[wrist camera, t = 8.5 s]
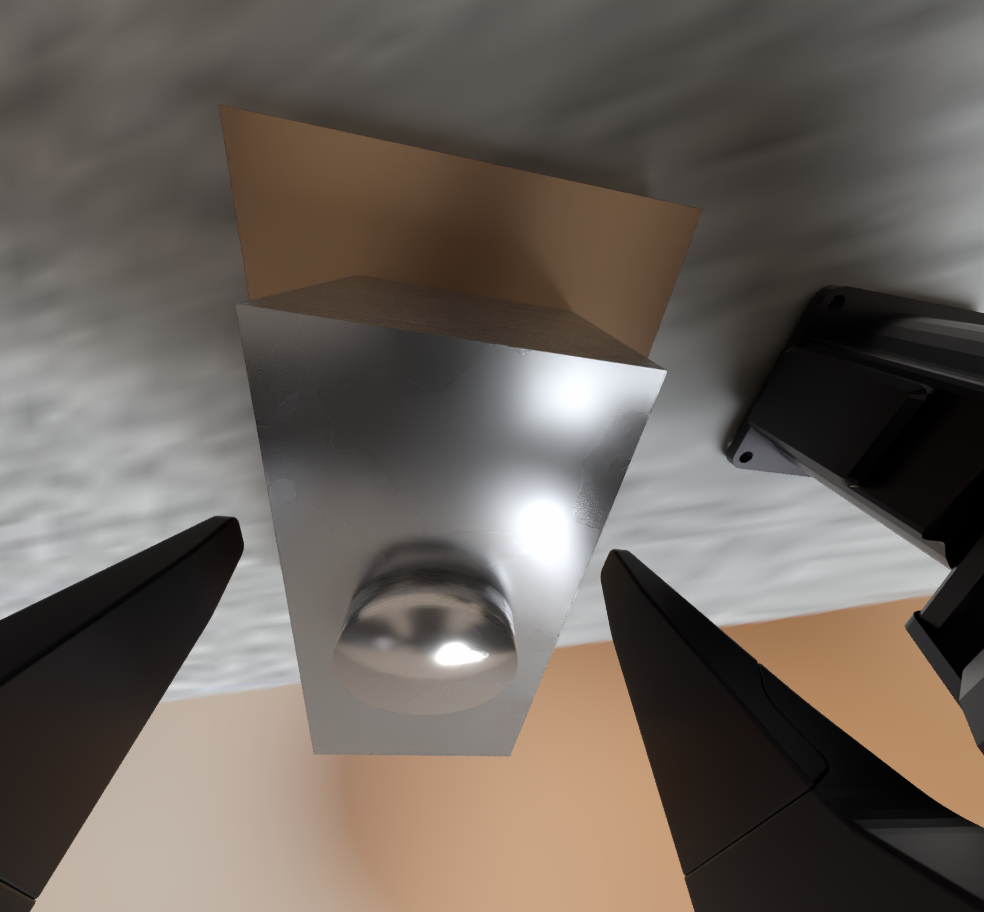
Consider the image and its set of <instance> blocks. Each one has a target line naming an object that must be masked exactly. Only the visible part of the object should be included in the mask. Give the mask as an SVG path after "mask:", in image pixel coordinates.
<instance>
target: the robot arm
mask: <svg viewBox="0 0 984 912" xmlns="http://www.w3.org/2000/svg"><path fill="white" fill-rule="evenodd" d="M833 297H834V300H833V303H832V304H831V306H830V307H829V308H827V306H828V303H829V302H830V300H831V299H832V298H833ZM743 453H745V454H744V455H743V456H741V455H742V454H743ZM726 456H727V460H728V461H729V462H730V463H731V464H733V465H734V466H735V467H737V468H741V469H749V470H757V471H766V472H774V473H782V474H791V475H799V476H807V477H813V478H815V479H816V480H818V481H819V482H820V483H822V484H823V485H825V486H826V487H828V488H829V489H831V490H832V491H834V492H835V493H837V494H838V495H840V496H841V497H843V498H844V499H846V500H847V501H849V502H850V503H852V504H853V505H855V506H856V507H858V508H859V509H861V510H862V511H864V512H865V513H867V514H868V515H870V516H871V517H873V518H874V519H876V520H877V521H879V522H880V523H881V524H883V525H884V526H886V527H887V528H889V529H890V530H892V531H893V532H895V533H896V534H898V535H899V536H901V537H902V538H904V539H905V540H907V541H908V542H910V543H911V544H913V545H914V546H916V547H917V548H919V549H920V550H922V551H923V552H925V553H926V554H928V555H929V556H931V557H932V558H934V559H935V560H937V561H938V562H940V563H941V564H943V565H944V566H945V567H947V568H948V569H950V570H951V572H950V573H949V575H948V576H947V577H946V579H945V580H944V581H943V583H942V584H941V585H940V587H939V588H938V589H937V591H936V592H935V593H934V595H933V596H932V597H931V599H930V600H929V601H928V603H927V604H926V605H925V607H924V608H923V609H922V610H921V611H916V612H914V613H913V615H912V616H911V617H910V619H909V620H908V621H907V623H906V624H905V628H906V630H907V631H908V633H909V634H910V636H911V637H912V638H913V640H914V641H915V643H916V644H917V646H918V647H919V649H920V650H921V651H922V653H923V654H924V656H925V657H926V658H927V660H928V661H929V663H930V664H931V666H932V667H933V669H934V670H935V671H936V673H937V674H938V676H939V677H940V679H941V680H942V681H943V683H944V684H945V686H946V687H947V689H948V690H949V691H950V693H951V694H952V696H953V697H954V699H955V700H956V702H957V703H958V704H959V705H960V707H961V709H962V710H963V712H964V714H965V717H966V719H967V722H968V724H969V727H970V729H971V732H972V734H973V737H974V739H975V742H976V744H977V747H978V748H979V749H980V751H981V752H982V753H983V755H984V313H980V312H975V311H970V310H965V309H960V308H955V307H950V306H945V305H939V304H934V303H929V302H924V301H919V300H914V299H909V298H904V297H899V296H894V295H889V294H884V293H879V292H874V291H869V290H864V289H859V288H854V287H849V286H841V285H828V286H826V287H823V288H822V289H820V290H819V291H818V292H817V293H816V294H815V295H814V296H813V298H812V299H811V301H810V303H809V305H808V306H807V308H806V310H805V312H804V314H803V315H802V317H801V319H800V321H799V323H798V324H797V326H796V328H795V330H794V332H793V334H792V335H791V337H790V339H789V341H788V343H787V344H786V346H785V348H784V350H783V352H782V353H781V355H780V357H779V359H778V361H777V362H776V364H775V366H774V368H773V370H772V372H771V373H770V375H769V377H768V379H767V381H766V382H765V384H764V386H763V388H762V390H761V391H760V393H759V395H758V397H757V399H756V401H755V402H754V404H753V406H752V408H751V410H750V411H749V413H748V415H747V417H746V419H745V420H744V422H743V424H742V426H741V428H740V429H739V431H738V433H737V435H736V437H735V439H734V440H733V442H732V444H731V446H730V448H729V449H728V452H727V455H726ZM740 456H741V457H740ZM243 550H244V542H243V537H242V533H241V529H240V525H239V521H238V520H237V519H236V518H235V517H229V516H214V517H212V518H209V519H207V520H205V521H203V522H201V523H199V524H197V525H195V526H193V527H191V528H189V529H187V530H185V531H183V532H181V533H179V534H176V535H174V536H172V537H170V538H168V539H166V540H164V541H162V542H160V543H158V544H156V545H154V546H152V547H150V548H148V549H146V550H144V551H142V552H139V553H137V554H135V555H133V556H131V557H129V558H127V559H125V560H123V561H121V562H119V563H117V564H115V565H113V566H111V567H109V568H107V569H104V570H102V571H100V572H98V573H96V574H94V575H92V576H90V577H88V578H86V579H84V580H82V581H80V582H78V583H76V584H74V585H72V586H69V587H67V588H65V589H63V590H61V591H59V592H57V593H55V594H53V595H51V596H49V597H47V598H45V599H43V600H41V601H39V602H37V603H34V604H32V605H30V606H28V607H26V608H24V609H22V610H20V611H18V612H16V613H14V614H12V615H10V616H8V617H6V618H4V619H2V620H0V912H30V911H31V909H32V908H33V906H34V904H35V902H36V900H35V899H36V898H37V897H39V895H40V894H41V892H42V891H43V889H44V887H45V886H46V884H47V882H48V881H49V879H50V878H51V876H52V874H53V872H54V871H55V869H56V868H57V866H58V865H59V863H60V862H61V860H62V858H63V857H64V855H65V853H66V852H67V850H68V849H69V847H70V845H71V844H72V842H73V840H74V839H75V837H76V836H77V834H78V832H79V831H80V829H81V828H82V826H83V824H84V823H85V821H86V819H87V818H88V816H89V815H90V813H91V811H92V810H93V808H94V807H95V805H96V803H97V802H98V800H99V798H100V797H101V795H102V794H103V792H104V790H105V789H106V787H107V785H108V784H109V782H110V781H111V779H112V777H113V776H114V774H115V772H116V771H117V769H118V768H119V766H120V764H121V763H122V761H123V760H124V758H125V756H126V755H127V753H128V752H129V750H130V748H131V747H132V745H133V743H134V742H135V740H136V739H137V737H138V735H139V734H140V732H141V731H142V729H143V727H144V726H145V724H146V723H147V721H148V719H149V718H150V716H151V714H152V713H153V711H154V710H155V708H156V706H157V705H158V703H159V702H160V700H161V698H162V697H163V695H164V693H165V692H166V690H167V689H168V687H169V685H170V684H171V682H172V680H173V679H174V677H175V676H176V674H177V672H178V671H179V669H180V668H181V666H182V664H183V663H184V661H185V659H186V658H187V656H188V655H189V653H190V651H191V650H192V648H193V647H194V645H195V643H196V642H197V640H198V638H199V637H200V635H201V634H202V632H203V630H204V629H205V627H206V625H207V624H208V622H209V620H210V619H211V617H212V615H213V613H214V611H215V609H216V607H217V605H218V603H219V601H220V599H221V597H222V595H223V593H224V591H225V589H226V587H227V585H228V583H229V580H230V578H231V576H232V574H233V572H234V570H235V568H236V566H237V564H238V562H239V560H240V558H241V556H242V553H243ZM601 584H602V589H603V594H604V600H605V605H606V610H607V615H608V620H609V625H610V630H611V635H612V639H613V642H614V646H615V650H616V653H617V656H618V659H619V663H620V666H621V669H622V672H623V676H624V679H625V682H626V686H627V689H628V692H629V696H630V699H631V702H632V705H633V709H634V712H635V715H636V719H637V722H638V725H639V729H640V732H641V735H642V739H643V742H644V745H645V748H646V752H647V755H648V759H649V762H650V765H651V768H652V771H653V775H654V778H655V782H656V785H657V788H658V791H659V795H660V798H661V801H662V805H663V808H664V811H665V815H666V818H667V821H668V824H669V828H670V831H671V835H672V838H673V841H674V844H675V848H676V851H677V854H678V857H679V861H680V864H681V868H682V870H683V873H684V875H685V882H686V885H687V888H688V892H689V895H690V898H691V902H692V905H693V908H694V911H695V912H984V828H983V827H981V826H979V825H977V824H975V823H973V822H971V821H969V820H967V819H965V818H963V817H961V816H960V815H958V814H956V813H954V812H952V811H951V810H949V809H948V808H946V807H944V806H943V805H941V804H940V803H938V802H937V801H935V800H934V799H932V798H931V797H929V796H928V795H926V794H925V793H924V792H922V791H921V790H920V789H918V788H917V787H916V786H914V785H913V784H912V783H910V782H909V781H908V780H907V779H905V778H904V777H903V776H901V775H900V774H899V773H897V772H896V771H895V770H894V769H892V768H891V767H890V766H888V765H887V764H886V763H884V762H883V761H882V760H881V759H879V758H878V757H877V756H875V755H874V754H873V753H871V752H870V751H869V750H867V749H866V748H865V747H864V746H862V745H861V744H860V743H858V742H857V741H856V740H855V739H853V738H852V737H851V736H849V735H848V734H847V733H845V732H844V731H843V730H842V729H840V728H839V727H838V726H836V725H835V724H834V723H833V722H831V721H830V720H829V719H828V718H826V717H825V716H824V715H822V714H821V713H820V712H819V711H817V710H816V709H815V708H813V707H812V706H811V705H810V704H809V703H807V702H806V701H805V700H804V699H802V698H801V697H800V696H799V695H798V694H796V693H795V692H794V691H792V690H791V689H790V688H789V687H788V686H787V685H785V684H784V683H783V682H782V681H781V680H779V679H778V678H777V677H776V676H775V675H773V674H772V673H771V672H770V671H769V670H768V669H767V668H765V667H764V666H763V665H762V664H760V663H759V664H758V662H757V660H756V659H755V658H753V657H752V656H751V655H750V654H749V653H748V652H747V651H745V650H744V649H743V648H742V647H740V646H739V645H738V644H737V643H736V642H735V641H734V640H732V639H731V638H730V637H729V636H728V635H727V634H725V633H724V632H723V631H722V630H721V629H720V628H718V627H717V626H716V625H715V624H714V623H713V622H711V621H710V620H709V619H708V618H707V617H705V616H704V615H703V614H702V613H701V612H700V611H698V610H697V609H696V608H695V607H694V606H693V605H691V604H690V603H689V602H688V601H687V600H686V599H684V598H683V597H682V596H681V595H680V594H679V593H677V592H676V591H675V590H674V589H673V588H671V587H670V586H669V585H668V584H667V583H666V582H664V581H663V580H662V579H661V578H660V577H659V576H657V575H656V574H655V573H654V572H653V571H652V570H650V569H649V568H648V567H647V566H646V565H645V564H643V563H642V562H641V561H640V560H639V559H637V558H636V557H635V556H634V555H633V554H632V553H630V552H629V551H627V550H620V549H613V550H611V551H610V552H609V554H608V557H607V559H606V561H605V564H604V566H603V568H602V571H601Z"/></svg>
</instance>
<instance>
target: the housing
mask: <svg viewBox="0 0 984 912" xmlns="http://www.w3.org/2000/svg"><path fill="white" fill-rule="evenodd" d="M235 306H236V311H237V317H238V323H239V329H240V334H241V340H242V346H243V351H244V357H245V363H246V369H247V374H248V380H249V386H250V391H251V397H252V403H253V409H254V414H255V420H256V426H257V432H258V437H259V443H260V449H261V454H262V460H263V466H264V472H265V477H266V483H267V489H268V495H269V500H270V506H271V512H272V517H273V523H274V529H275V535H276V540H277V546H278V552H279V557H280V563H281V569H282V575H283V580H284V586H285V592H286V598H287V603H288V609H289V615H290V620H291V626H292V632H293V638H294V643H295V649H296V655H297V660H298V666H299V672H300V678H301V683H302V689H303V695H304V700H305V706H306V712H307V717H308V723H309V729H310V735H311V741H312V746H313V752H314V754H338V755H340V754H341V755H433V756H510V755H511V752H512V750H513V747H514V745H515V743H516V740H517V738H518V735H519V733H520V730H521V728H522V726H523V723H524V721H525V718H526V716H527V713H528V711H529V708H530V706H531V703H532V701H533V699H534V696H535V694H536V691H537V689H538V686H539V684H540V681H541V679H542V677H543V674H544V672H545V669H546V667H547V664H548V662H549V659H550V657H551V655H552V652H553V650H554V647H555V645H556V642H557V640H558V637H559V635H560V633H561V630H562V628H563V625H564V623H565V620H566V618H567V615H568V613H569V610H570V608H571V606H572V603H573V601H574V598H575V596H576V593H577V591H578V588H579V586H580V584H581V581H582V579H583V576H584V574H585V571H586V569H587V566H588V564H589V562H590V559H591V557H592V554H593V552H594V549H595V547H596V544H597V542H598V539H599V537H600V535H601V532H602V530H603V527H604V525H605V522H606V520H607V517H608V515H609V513H610V510H611V508H612V505H613V503H614V500H615V498H616V495H617V493H618V491H619V488H620V486H621V483H622V481H623V478H624V476H625V473H626V471H627V468H628V466H629V464H630V461H631V459H632V456H633V454H634V451H635V449H636V446H637V444H638V442H639V439H640V437H641V434H642V432H643V429H644V427H645V424H646V422H647V420H648V417H649V415H650V412H651V410H652V407H653V405H654V402H655V400H656V397H657V395H658V393H659V390H660V388H661V385H662V383H663V380H664V378H665V375H666V373H667V370H665V369H664V368H662V367H661V366H659V365H657V364H656V363H654V362H653V361H651V360H649V359H648V358H646V357H645V356H643V355H641V354H640V353H638V352H637V351H635V350H633V349H632V348H630V347H629V346H627V345H626V344H624V343H622V342H621V341H619V340H618V339H616V338H614V337H613V336H611V335H610V334H608V333H606V332H605V331H603V330H602V329H600V328H598V327H597V326H595V325H594V324H592V323H590V322H589V321H587V320H586V319H584V318H582V317H581V316H579V315H578V314H576V313H574V312H573V311H568V310H562V309H556V308H550V307H544V306H538V305H532V304H527V303H521V302H515V301H509V300H503V299H497V298H492V297H486V296H480V295H474V294H468V293H462V292H457V291H451V290H445V289H439V288H433V287H427V286H421V285H416V284H410V283H404V282H398V281H392V280H386V279H381V278H375V277H369V276H363V275H353V276H349V277H345V278H340V279H336V280H332V281H328V282H324V283H320V284H315V285H311V286H307V287H303V288H299V289H295V290H290V291H286V292H282V293H278V294H274V295H270V296H265V297H261V298H257V299H253V300H249V301H245V302H240V303H236V304H235Z"/></svg>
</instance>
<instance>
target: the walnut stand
mask: <svg viewBox="0 0 984 912" xmlns="http://www.w3.org/2000/svg"><path fill="white" fill-rule="evenodd" d="M219 109H220V116H221V122H222V129H223V135H224V141H225V148H226V154H227V160H228V167H229V173H230V179H231V186H232V192H233V199H234V205H235V211H236V218H237V224H238V230H239V237H240V243H241V250H242V256H243V262H244V269H245V275H246V281H247V288H248V294H249V300H253V299H257V298H261V297H265V296H270V295H274V294H278V293H282V292H286V291H290V290H295V289H299V288H303V287H307V286H311V285H315V284H320V283H324V282H328V281H332V280H336V279H340V278H345V277H349V276H353V275H363V276H369V277H375V278H381V279H386V280H392V281H398V282H404V283H410V284H416V285H421V286H427V287H433V288H439V289H445V290H451V291H457V292H462V293H468V294H474V295H480V296H486V297H492V298H497V299H503V300H509V301H515V302H521V303H527V304H532V305H538V306H544V307H550V308H556V309H562V310H568V311H573V312H574V313H576V314H578V315H579V316H581V317H582V318H584V319H586V320H587V321H589V322H590V323H592V324H594V325H595V326H597V327H598V328H600V329H602V330H603V331H605V332H606V333H608V334H610V335H611V336H613V337H614V338H616V339H618V340H619V341H621V342H622V343H624V344H626V345H627V346H629V347H630V348H632V349H633V350H635V351H637V352H638V353H640V354H641V355H643V356H645V357H646V358H648V355H649V352H650V350H651V347H652V344H653V342H654V339H655V336H656V334H657V331H658V328H659V326H660V323H661V320H662V318H663V315H664V312H665V310H666V307H667V304H668V301H669V299H670V296H671V293H672V291H673V288H674V285H675V283H676V280H677V277H678V275H679V272H680V269H681V267H682V264H683V261H684V259H685V256H686V253H687V251H688V248H689V245H690V242H691V240H692V237H693V234H694V232H695V229H696V226H697V224H698V221H699V218H700V216H701V213H702V210H703V209H699V208H694V207H690V206H685V205H680V204H676V203H671V202H667V201H662V200H657V199H653V198H648V197H643V196H639V195H634V194H630V193H625V192H620V191H616V190H611V189H607V188H602V187H597V186H593V185H588V184H583V183H579V182H574V181H570V180H565V179H560V178H556V177H551V176H546V175H542V174H537V173H533V172H528V171H523V170H519V169H514V168H510V167H505V166H500V165H496V164H491V163H486V162H482V161H477V160H473V159H468V158H463V157H459V156H454V155H450V154H445V153H440V152H436V151H431V150H426V149H422V148H417V147H413V146H408V145H403V144H399V143H394V142H390V141H385V140H380V139H376V138H371V137H366V136H362V135H357V134H353V133H348V132H343V131H339V130H334V129H330V128H325V127H320V126H316V125H311V124H306V123H302V122H297V121H293V120H288V119H283V118H279V117H274V116H269V115H265V114H260V113H256V112H251V111H246V110H242V109H237V108H233V107H228V106H223V105H219Z"/></svg>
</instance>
